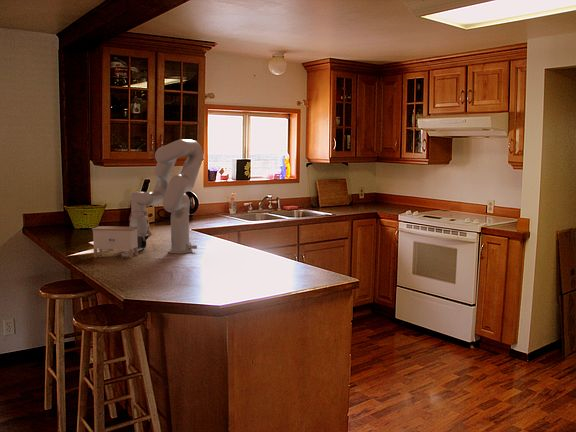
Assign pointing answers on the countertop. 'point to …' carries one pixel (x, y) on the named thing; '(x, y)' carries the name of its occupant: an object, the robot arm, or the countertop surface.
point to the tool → (139, 240)
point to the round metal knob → (125, 254)
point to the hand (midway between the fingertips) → (139, 247)
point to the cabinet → (115, 239)
